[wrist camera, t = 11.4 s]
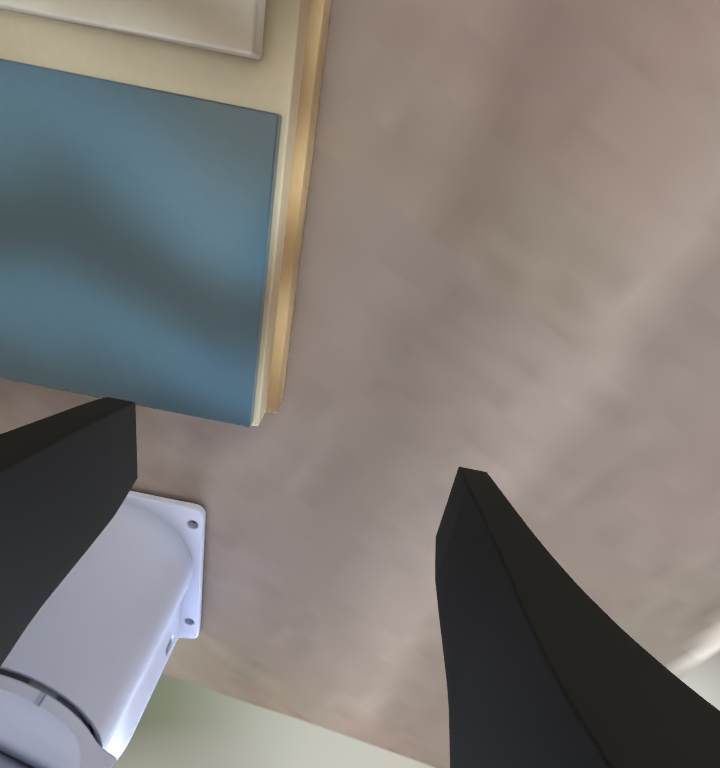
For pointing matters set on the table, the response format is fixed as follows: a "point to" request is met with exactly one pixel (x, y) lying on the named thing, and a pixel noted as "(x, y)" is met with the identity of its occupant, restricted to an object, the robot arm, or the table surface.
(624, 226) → the table surface
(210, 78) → the bed
